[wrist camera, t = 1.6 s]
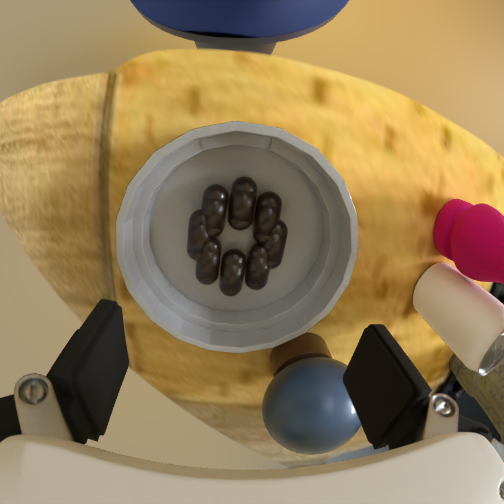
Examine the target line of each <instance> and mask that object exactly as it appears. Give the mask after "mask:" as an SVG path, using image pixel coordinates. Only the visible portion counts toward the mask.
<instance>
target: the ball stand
mask: <svg viewBox="0 0 504 504" xmlns="http://www.w3.org/2000/svg"><path fill="white" fill-rule="evenodd" d="M270 361H271V366H272V371H273V377H274V378H273V379H272V381H271V382H270V384H269V385H268V387H267V389H266V392H265V395H264V398H263V404H262V414H263V420H264V423H265V426H266V428H267V430H268V432H269V433H270V435H271V436H272V437H273V438H274V440H275V441H276V442H278V443H279V444H280V445H281V446H283V447H285V448H286V449H288V450H290V451H293V452H296V453H300V454H307V455H314V454H322V453H327V452H330V451H332V450H335V449H337V448H339V447H340V446H342V445H344V444H345V443H346V442H348V441H349V440H350V439H351V438H352V437H353V436H354V435H355V433H356V432H357V431H358V429H359V428H360V426H361V423H360V420H359V418H358V415H357V413H356V411H355V408H354V406H353V404H352V402H351V399H350V397H349V395H348V392H347V390H346V388H345V386H344V383H343V375H344V373H345V371H346V369H347V365H346V364H344V363H342V362H340V361H338V360H335V359H332V356H331V354H330V352H329V350H328V347H327V345H326V343H325V341H324V340H323V339H322V338H321V337H320V336H318V335H316V334H313V333H304V334H302V335H300V336H298V337H296V338H294V339H291V340H289V341H287V342H285V343H283V344H280V345H278V346H276V347H274V348H273V350H272V352H271V356H270Z"/></svg>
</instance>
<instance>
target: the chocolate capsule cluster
mask: <svg viewBox="0 0 504 504" xmlns="http://www.w3.org/2000/svg"><path fill="white" fill-rule="evenodd" d="M256 196H257V185H256V183H255V181H254V180H253V179H252V178H250V177H246V176H243V177H239V178H237V179H236V180H235V181H234V182H233V184H232V187H231V194H230V201H229V209H228V216H227V220H228V223H229V225H230V226H231V227H232V228H233V229H235V230H238V231H242V230H245V229H247V228H248V227H249V226H250V225H251V223H252V220H253V214H254V208H255V202H256ZM227 204H228V192H227V190H226V189H225V187H223V186H222V185H219V184H212V185H210V186H208V187H207V188H206V189H205V190H204V192H203V197H202V206H201V209H198V210H196V211H194V212H193V213H192V214H191V216H190V218H189V226H188V238H187V253H188V255H189V257H190V258H191V259H193V260H195V261H196V271H195V275H196V278H197V280H198V281H199V282H200V283H201V284H203V285H211V284H213V283H214V282H215V281H216V280H217V279H218V275H219V268H220V259H221V251H222V246H221V242H220V241H219V239H217V238H216V237H218V236H219V235H221V234H222V232H223V230H224V227H225V219H226V212H227ZM281 209H282V200H281V198H280V196H279V195H278V194H277V193H275V192H272V191H267V192H264V193H262V194H261V195H260V196H259V197H258V200H257V204H256V210H255V216H254V223H253V229H252V235H253V238H254V239H255V240H256V241H257V243H254V244H253V245H252V246H251V247H250V249H249V254H248V260H247V266H246V272H245V283H246V285H247V286H248V287H249V288H250V289H252V290H261V289H262V288H264V287H265V286H266V284H267V281H268V277H269V272H270V269H275V268H277V267H278V266H279V265H280V264H281V262H282V259H283V254H284V249H285V244H286V239H287V235H288V228H287V225H286V224H285V222H284V221H282V220H280V214H281ZM245 264H246V258H245V255H244V253H243V252H242V251H240V250H238V249H229V250H227V251H226V252H225V253H224V255H223V257H222V263H221V271H220V280H219V288H220V291H221V292H222V293H223V294H224V295H226V296H229V297H232V296H236V295H237V294H238V293H239V292H240V291H241V289H242V283H243V277H244V271H245Z"/></svg>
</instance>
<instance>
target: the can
mask: <svg viewBox="0 0 504 504" xmlns="http://www.w3.org/2000/svg"><path fill="white" fill-rule="evenodd" d="M413 306H414V308H415V310H416V311H417V312H418V313H419V314H420V315H421V317H422V318H423V319H424V320H425V321H426V322H427V323H428V324H429V325H430V326H431V327H432V329H433V330H434V331H435V332H436V333H437V334H438V335H439V336H440V337H441V339H442V340H443V341H444V342H445V343H446V344H447V345H448V346H449V348H450V349H451V350H452V351H453V352H454V353H455V354H456V356H457V357H458V358H459V359H460V360H461V361H462V363H463V364H464V365H465V366H466V367H467V368H468V369H470V370H473V371H477V372H478V374H479V375H480V376H484V375H486V374H488V373H489V372H491V371H492V370H493V369H494V368H495V367H496V366H497V365H498V364H499V363H500V362H501V361H502V360H503V358H504V305H503V304H502V303H501V302H500V301H499V300H497V299H496V298H495V297H494V296H492V295H491V294H490V293H489V292H487V291H486V290H485V289H483V288H482V287H481V286H479V285H478V284H477V283H475V282H474V281H473V280H471V279H470V278H468V277H467V276H465V275H463V274H462V273H461V272H460V271H459V270H457V269H456V268H454V267H453V266H451V265H450V264H448V263H445V262H440V263H437V264H434V265H432V266H430V267H429V268H428V269H427V270H426V271H425V272H424V273H423V274H422V275H421V277H420V278H419V280H418V281H417V283H416V286H415V288H414V292H413Z"/></svg>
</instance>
